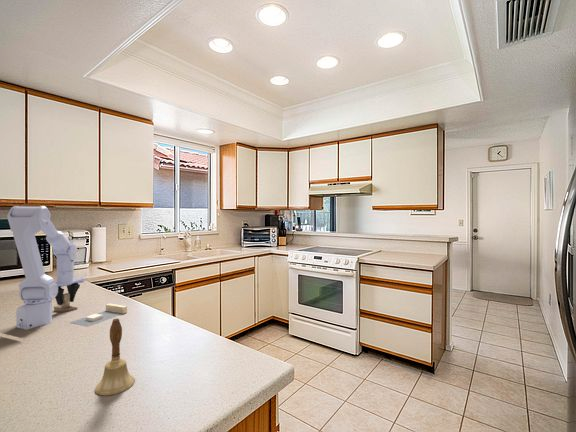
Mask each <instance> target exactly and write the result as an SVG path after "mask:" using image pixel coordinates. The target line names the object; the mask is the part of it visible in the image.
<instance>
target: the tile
mask: <svg viewBox="0 0 576 432" xmlns="http://www.w3.org/2000/svg"><path fill="white" fill-rule="evenodd" d="M85 317H86V320H87V321H96V320H99V319H102V318H103V315H101V314H97V313H93V314H90V315H88V316H85Z"/></svg>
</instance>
